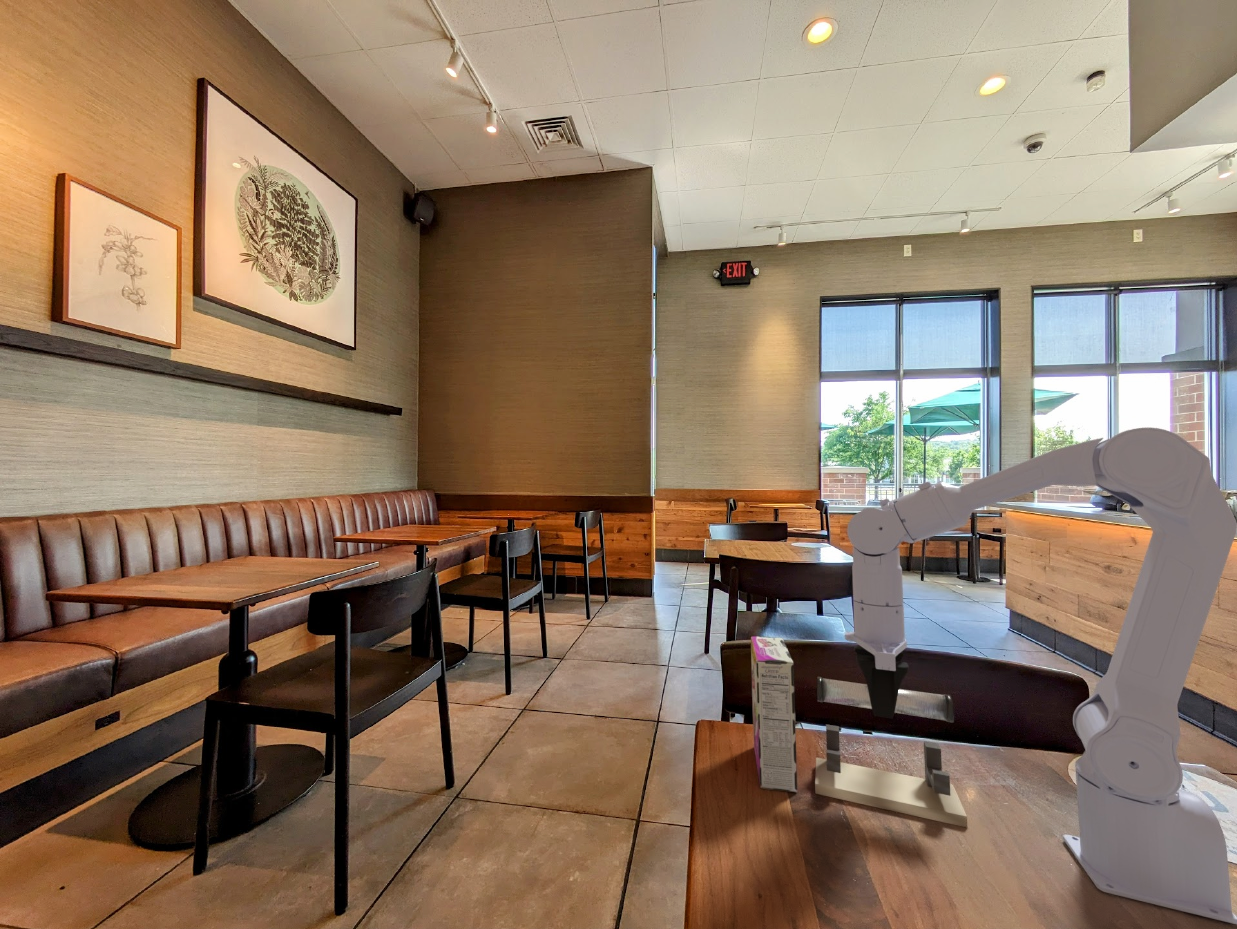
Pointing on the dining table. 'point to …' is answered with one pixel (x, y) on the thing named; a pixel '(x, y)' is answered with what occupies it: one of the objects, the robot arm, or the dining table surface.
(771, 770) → the candy bar box
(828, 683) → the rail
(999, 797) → the dining table surface
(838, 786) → the rack
